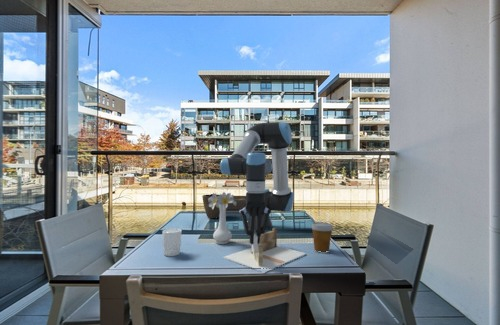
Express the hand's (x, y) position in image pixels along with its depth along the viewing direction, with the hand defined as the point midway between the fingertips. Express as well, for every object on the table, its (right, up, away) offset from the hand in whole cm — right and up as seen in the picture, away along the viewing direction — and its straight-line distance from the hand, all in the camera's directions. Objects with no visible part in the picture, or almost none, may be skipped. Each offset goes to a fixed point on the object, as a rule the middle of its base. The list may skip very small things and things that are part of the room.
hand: (254, 252), depth 107 cm
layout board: (+5, -5, +8) cm, 11 cm away
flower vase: (-16, -5, +28) cm, 33 cm away
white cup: (-35, -4, +11) cm, 37 cm away
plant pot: (-28, -5, +88) cm, 93 cm away
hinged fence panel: (+1, -4, +2) cm, 5 cm away
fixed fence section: (+5, -4, +15) cm, 17 cm away
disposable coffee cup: (+31, -5, +17) cm, 35 cm away
